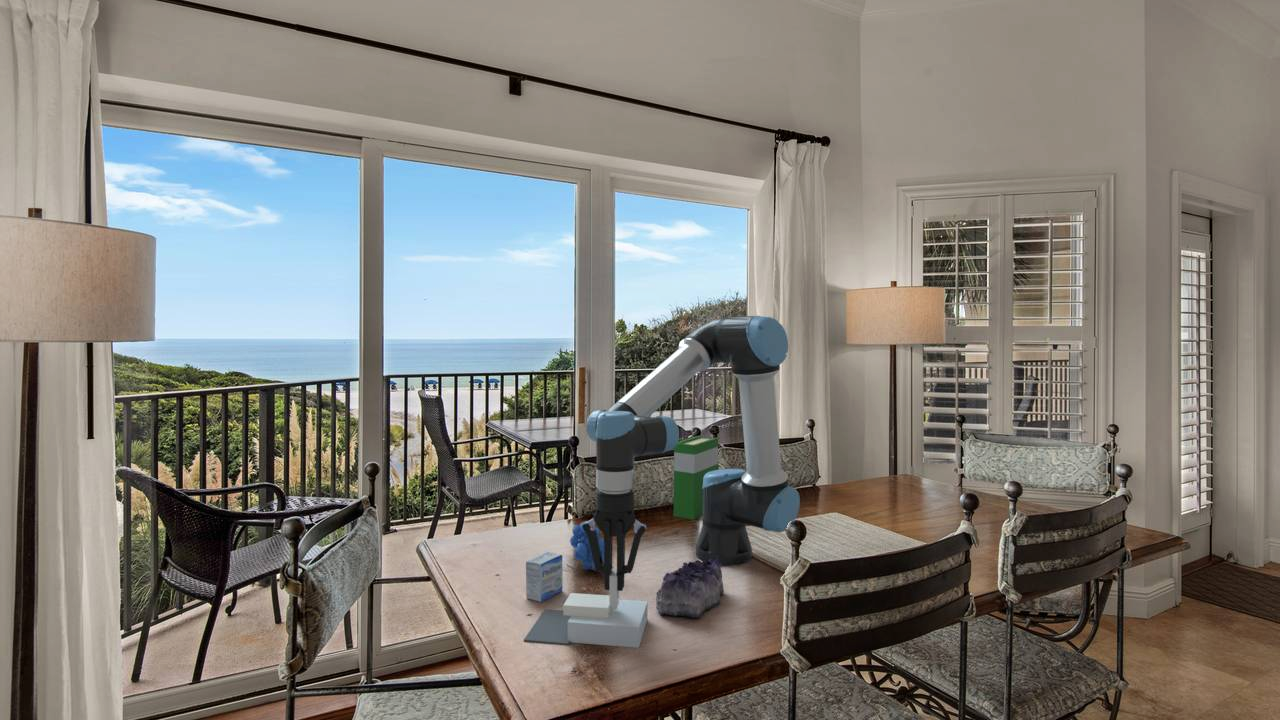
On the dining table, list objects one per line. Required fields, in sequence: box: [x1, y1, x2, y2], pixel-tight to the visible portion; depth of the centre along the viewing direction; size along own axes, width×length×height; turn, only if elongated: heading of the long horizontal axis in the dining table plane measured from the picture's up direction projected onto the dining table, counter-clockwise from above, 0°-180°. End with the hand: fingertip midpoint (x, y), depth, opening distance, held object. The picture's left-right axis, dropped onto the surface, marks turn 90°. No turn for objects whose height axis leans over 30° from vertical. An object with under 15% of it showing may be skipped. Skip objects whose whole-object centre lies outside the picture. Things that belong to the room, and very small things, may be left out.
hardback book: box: [673, 435, 719, 521], centre depth 216 cm, size 18×7×24 cm, turn 148°
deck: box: [568, 598, 649, 649], centre depth 130 cm, size 14×12×4 cm
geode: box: [655, 557, 725, 619], centre depth 144 cm, size 20×12×10 cm, turn 148°
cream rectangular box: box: [562, 592, 612, 618], centre depth 131 cm, size 9×6×2 cm, turn 82°
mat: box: [523, 608, 571, 646], centre depth 132 cm, size 9×14×1 cm, turn 172°
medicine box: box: [525, 551, 564, 603], centre depth 148 cm, size 8×4×9 cm, turn 148°
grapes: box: [569, 521, 604, 571], centre depth 163 cm, size 12×7×12 cm, turn 56°
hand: (614, 605), depth 130 cm, fingers closed
